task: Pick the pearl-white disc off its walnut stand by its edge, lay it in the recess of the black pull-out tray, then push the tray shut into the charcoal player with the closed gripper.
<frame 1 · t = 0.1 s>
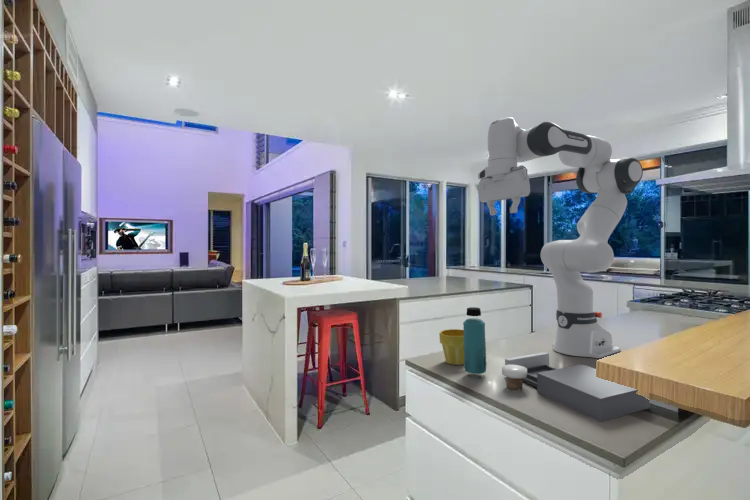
hand: (503, 213, 122), 48 cm above the worktop, tool pointing down, fingers open, 8 cm apart
disc stand: (514, 387, 104), on the worktop
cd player: (590, 399, 95), on the worktop
tray: (549, 372, 106), point 3 cm above the worktop, slide at 11.0 cm
disc: (514, 374, 104), point 3 cm above the worktop, touching disc stand
plant pot: (455, 362, 126), on the worktop
beverage bottle: (475, 376, 113), on the worktop
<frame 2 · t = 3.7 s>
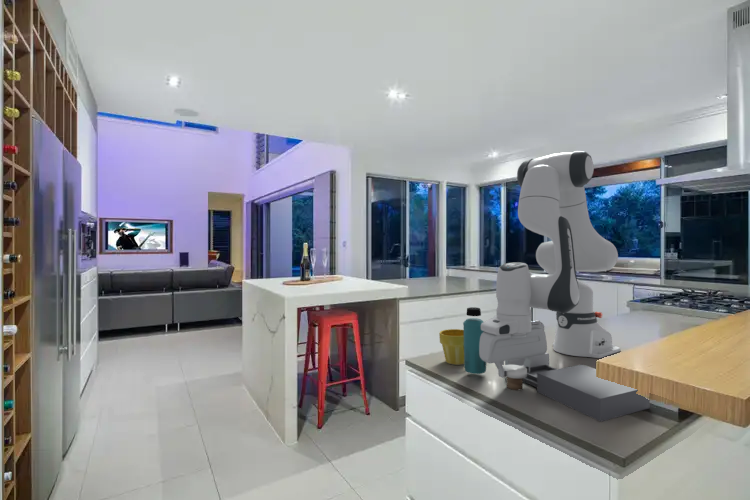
hand: (514, 374, 104), 3 cm above the worktop, tool pointing down, fingers closed on disc, 6 cm apart
disc: (514, 374, 104), point 3 cm above the worktop, touching disc stand, gripper
everything else where it was.
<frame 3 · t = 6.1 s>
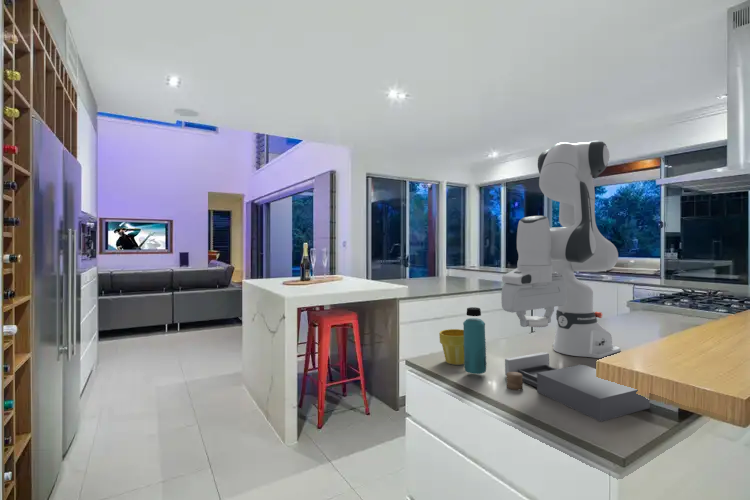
hand: (535, 324, 107), 16 cm above the worktop, tool pointing down, fingers closed on disc, 6 cm apart
disc: (535, 324, 107), point 16 cm above the worktop, touching gripper
everything else where it was.
when the fingers open (3 cm above the worktop, at t = 8.7 s): disc drops 2 cm, resting on tray.
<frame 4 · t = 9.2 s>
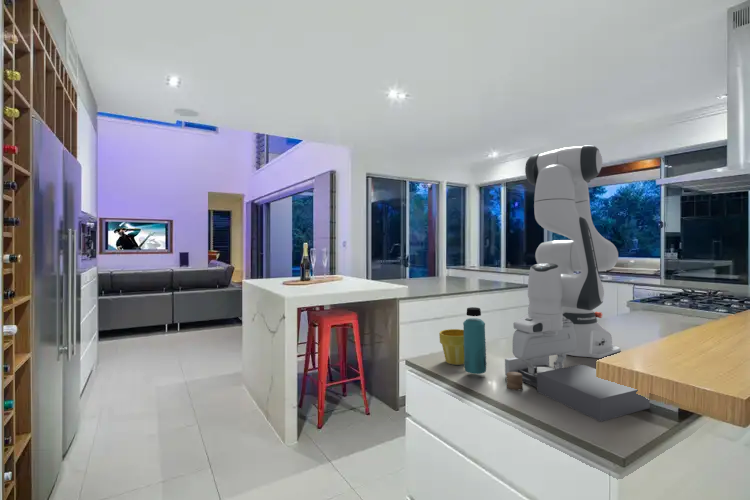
hand: (545, 370, 108), 3 cm above the worktop, tool pointing down, fingers open, 8 cm apart
tray: (549, 372, 106), point 3 cm above the worktop, slide at 11.0 cm, touching disc
disc: (545, 376, 108), point 1 cm above the worktop, touching tray
everything else where it was.
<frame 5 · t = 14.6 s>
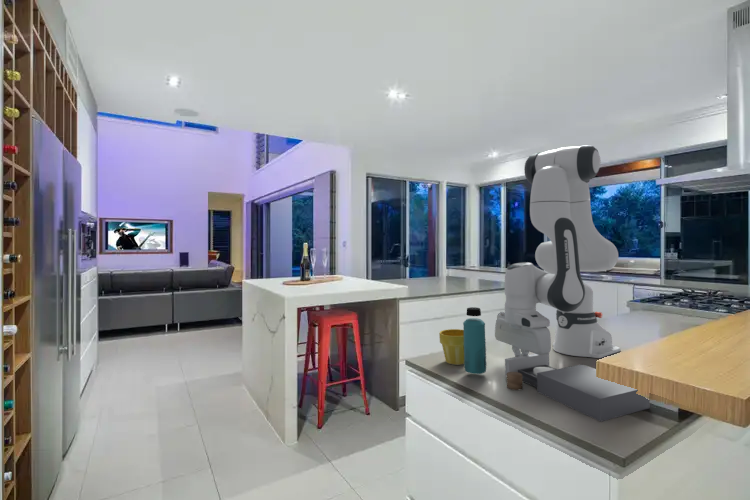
hand: (520, 361, 117), 3 cm above the worktop, tool pointing down, fingers closed
tray: (549, 372, 106), point 3 cm above the worktop, slide at 11.0 cm, touching disc, gripper
everything else where it was.
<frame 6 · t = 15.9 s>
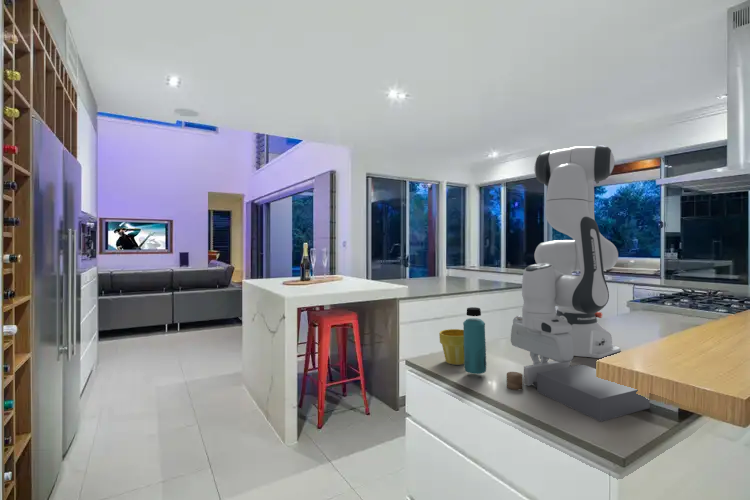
hand: (539, 369, 110), 3 cm above the worktop, tool pointing down, fingers closed
tray: (572, 381, 100), point 3 cm above the worktop, slide at 3.5 cm, touching disc, gripper
disc: (568, 385, 101), point 1 cm above the worktop, touching tray
everything else where it was.
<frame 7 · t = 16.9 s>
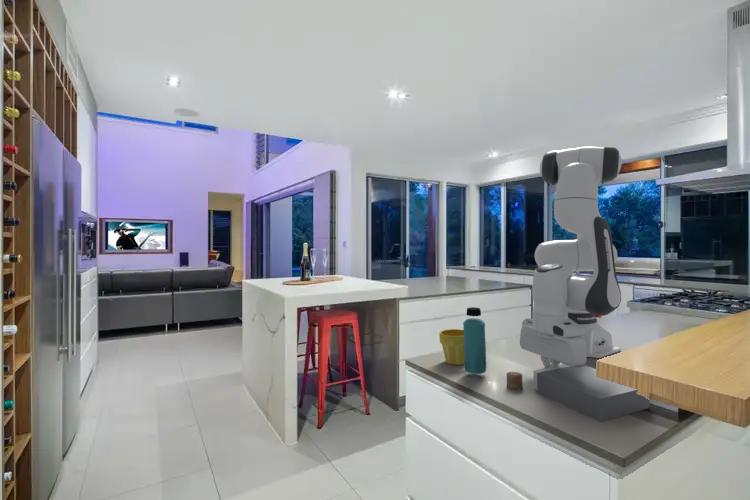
hand: (550, 373, 106), 3 cm above the worktop, tool pointing down, fingers closed
tray: (584, 386, 96), point 3 cm above the worktop, slide at -0.1 cm, touching disc, gripper
disc: (579, 390, 97), point 1 cm above the worktop, touching tray
everything else where it was.
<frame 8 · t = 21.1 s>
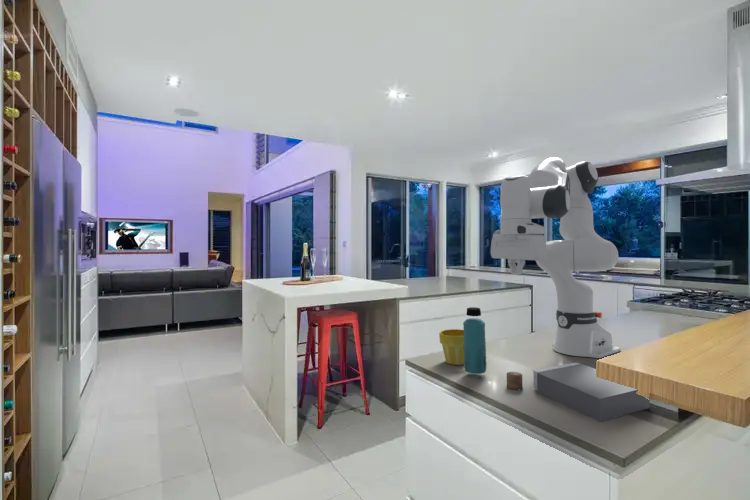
hand: (516, 274, 117), 29 cm above the worktop, tool pointing down, fingers closed
tray: (584, 386, 96), point 3 cm above the worktop, slide at 0.0 cm, touching disc
everything else where it was.
at the end: tray slide at 0.0 cm; disc inside the target area on the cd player (1.5 cm from its centre), point 1.3 cm above the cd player's base; the gripper is holding nothing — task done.
